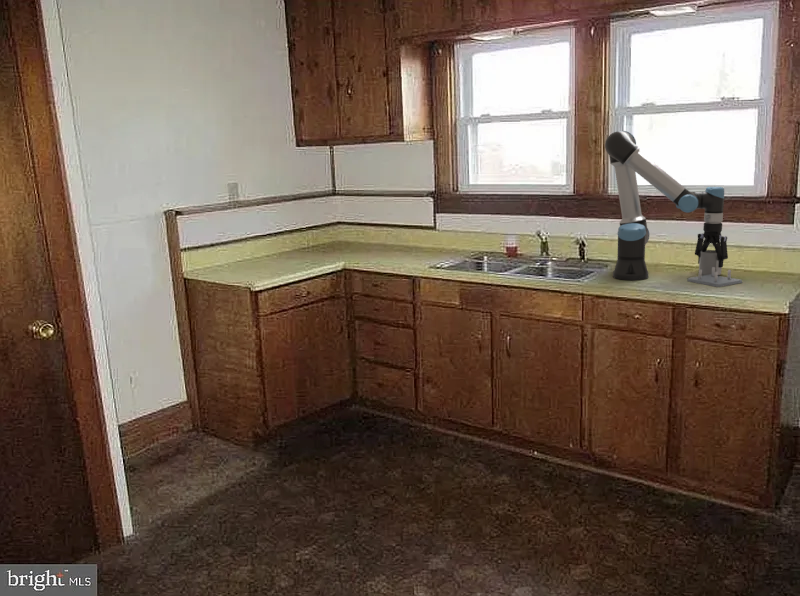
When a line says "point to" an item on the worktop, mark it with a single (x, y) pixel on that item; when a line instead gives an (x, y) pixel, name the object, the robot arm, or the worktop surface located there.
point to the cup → (708, 261)
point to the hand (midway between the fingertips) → (709, 272)
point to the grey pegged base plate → (714, 279)
